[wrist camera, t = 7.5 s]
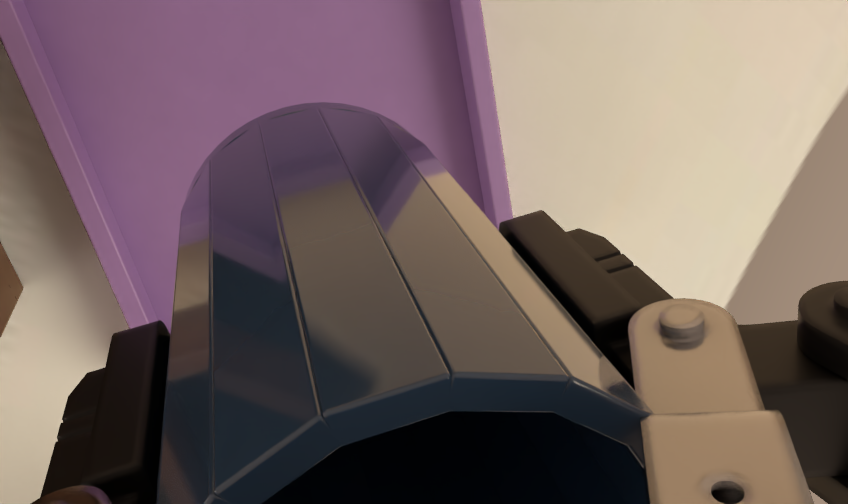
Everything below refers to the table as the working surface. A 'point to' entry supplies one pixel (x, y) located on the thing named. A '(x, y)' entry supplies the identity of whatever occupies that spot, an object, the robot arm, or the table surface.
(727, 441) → the robot arm
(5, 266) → the rack
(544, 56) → the table surface
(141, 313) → the tray
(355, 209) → the tumbler
